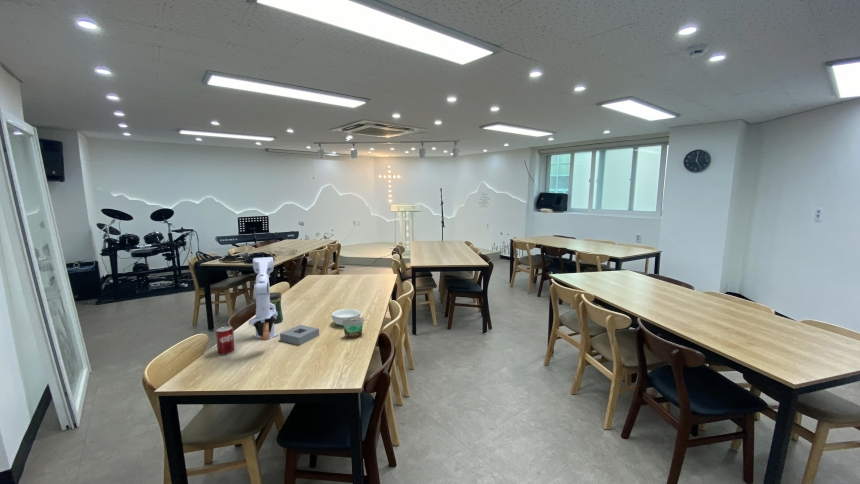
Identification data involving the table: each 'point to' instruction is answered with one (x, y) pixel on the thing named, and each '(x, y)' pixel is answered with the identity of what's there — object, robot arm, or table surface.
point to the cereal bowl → (345, 315)
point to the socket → (299, 334)
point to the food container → (353, 327)
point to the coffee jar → (277, 305)
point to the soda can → (225, 340)
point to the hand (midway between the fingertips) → (264, 334)
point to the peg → (265, 331)
